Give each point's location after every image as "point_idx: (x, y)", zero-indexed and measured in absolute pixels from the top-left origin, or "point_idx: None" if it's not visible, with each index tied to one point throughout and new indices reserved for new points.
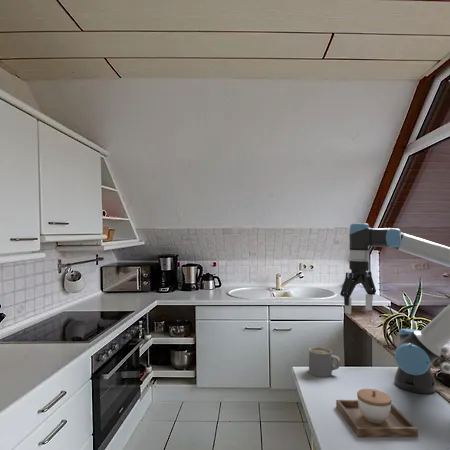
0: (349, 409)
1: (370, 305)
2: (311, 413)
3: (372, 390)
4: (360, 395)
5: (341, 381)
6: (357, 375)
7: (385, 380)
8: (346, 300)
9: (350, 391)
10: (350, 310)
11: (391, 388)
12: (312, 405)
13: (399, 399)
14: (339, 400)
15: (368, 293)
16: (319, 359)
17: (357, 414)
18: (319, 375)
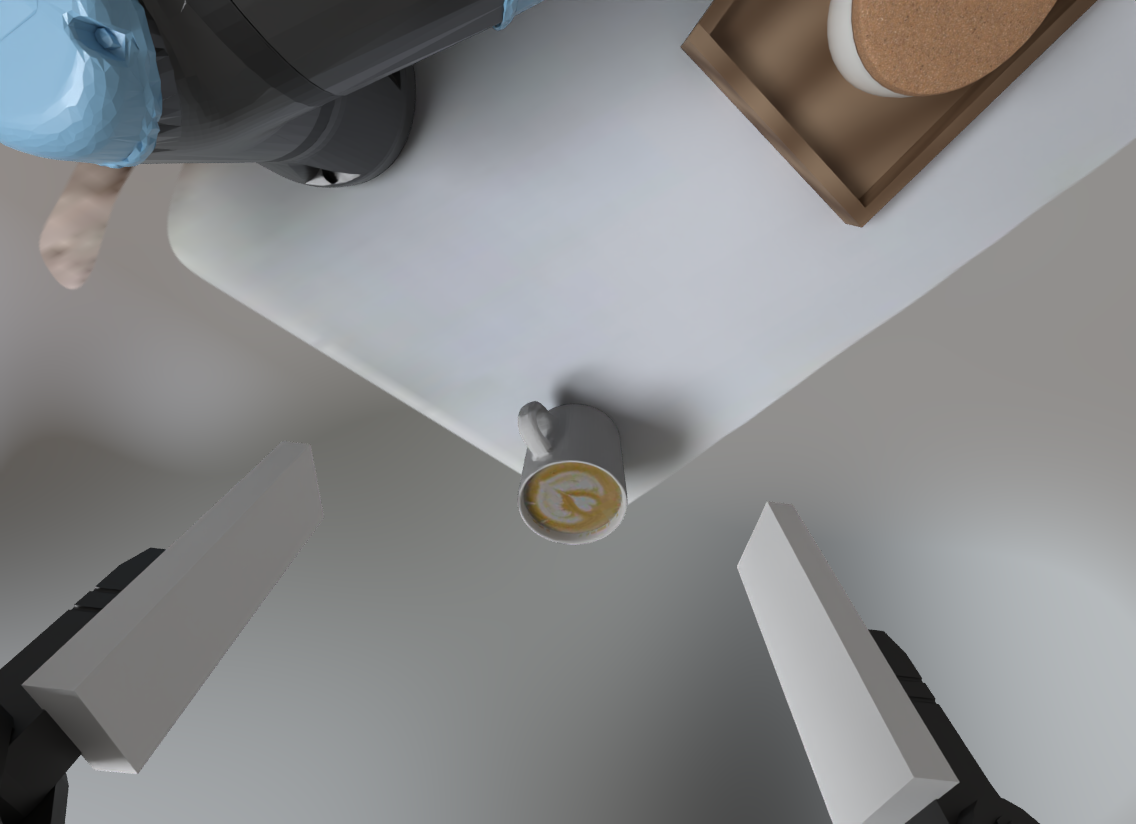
0: (855, 158)
1: (267, 502)
2: (966, 259)
3: (898, 21)
4: (1018, 38)
5: (584, 346)
6: (465, 336)
7: (397, 220)
8: (952, 738)
9: (650, 266)
10: (805, 541)
11: (458, 148)
12: (891, 296)
13: (548, 44)
14: (859, 213)
15: (53, 768)
16: (619, 467)
17: (885, 101)
18: (615, 426)
